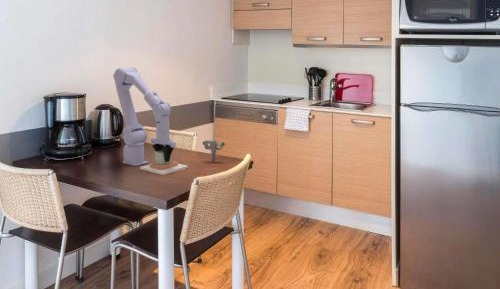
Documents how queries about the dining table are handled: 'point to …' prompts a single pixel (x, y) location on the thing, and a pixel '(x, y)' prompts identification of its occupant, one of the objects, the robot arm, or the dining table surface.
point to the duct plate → (164, 168)
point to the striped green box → (160, 158)
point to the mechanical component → (213, 147)
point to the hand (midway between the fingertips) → (163, 160)
